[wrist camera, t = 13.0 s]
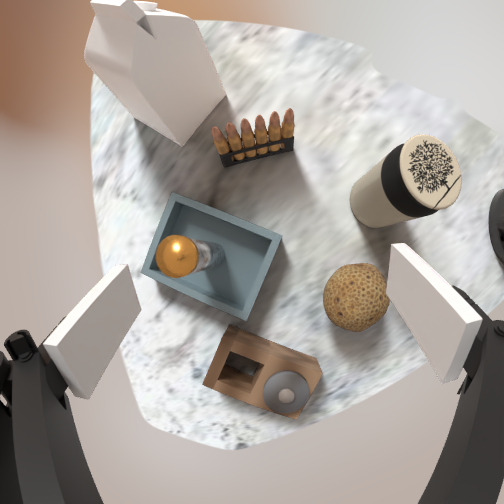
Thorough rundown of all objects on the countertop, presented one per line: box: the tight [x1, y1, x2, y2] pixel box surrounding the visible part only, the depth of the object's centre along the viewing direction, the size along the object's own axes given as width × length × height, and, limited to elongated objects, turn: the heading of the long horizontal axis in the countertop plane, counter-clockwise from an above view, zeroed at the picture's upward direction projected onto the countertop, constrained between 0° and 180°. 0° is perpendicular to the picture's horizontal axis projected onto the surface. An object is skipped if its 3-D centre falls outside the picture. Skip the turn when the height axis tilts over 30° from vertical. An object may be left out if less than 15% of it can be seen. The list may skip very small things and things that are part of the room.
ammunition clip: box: [212, 108, 295, 167], centre depth 35 cm, size 11×2×12 cm, turn 104°
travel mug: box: [350, 135, 462, 228], centre depth 31 cm, size 8×8×18 cm
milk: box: [84, 0, 226, 147], centre depth 29 cm, size 12×12×26 cm
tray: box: [141, 192, 282, 321], centre depth 39 cm, size 16×12×4 cm
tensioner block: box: [202, 325, 323, 420], centre depth 37 cm, size 14×8×8 cm, turn 67°
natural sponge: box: [323, 263, 390, 332], centre depth 35 cm, size 9×9×10 cm
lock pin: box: [156, 235, 225, 278], centre depth 33 cm, size 4×4×16 cm
